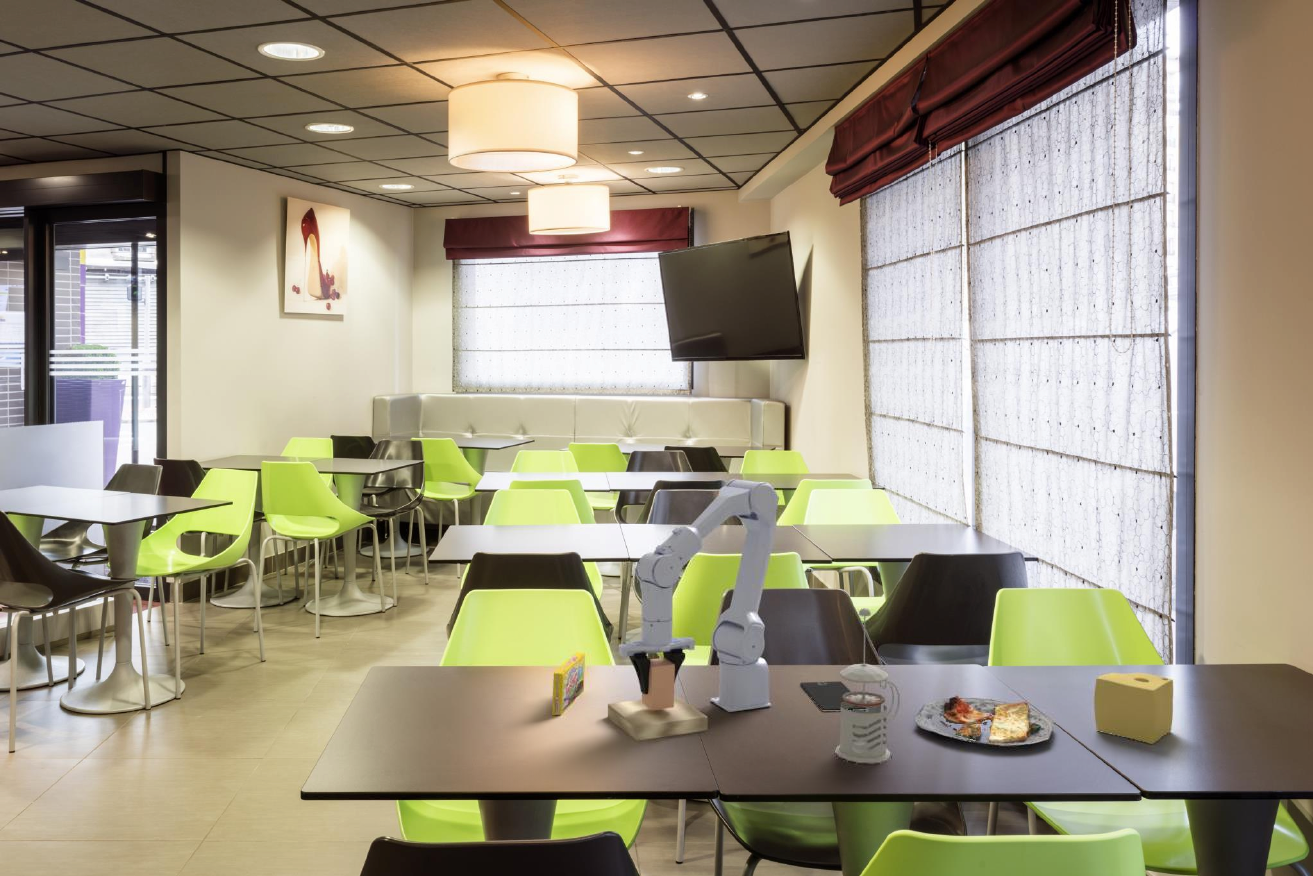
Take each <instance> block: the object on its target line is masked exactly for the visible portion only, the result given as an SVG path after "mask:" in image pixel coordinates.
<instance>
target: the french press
mask: <svg viewBox="0 0 1313 876" xmlns="http://www.w3.org/2000/svg"><path fill="white" fill-rule="evenodd" d="M858 611H859V612H858V614H859V616H861V617H864V618H863V619H864V620H863V663H858V664H857V663H855V664H851V665H848V667H846V668H843V669H842V670H840V673H839V675H840V677H841V678H842V679H843V680H845V681H848V682H851V683H856V684H857V683H858V684H863V687H862V688H863V690H862V691H860V690H859V691H856V690H854V691H851V692H848V693H845V694H844V695H843V696H842V698H843V700H844V702H842V703H841V712H840V716H839V717H840V719H839V721H840V725H839V727H840V729H839V731H840V732H839V745H837V747H835V748H836V750H835V753H837V754H839V756H842V757H843V758H846V759H848V760H854V761H857V762H880V761H882V760H887V758H889V756H890V753H891V751H890V750H889V749H888V748H887V725H888V724H889V723H890V722H891V721H893V720H894V718H896V716H897V713H898V712H899V708H900V703H901V702H900V699H901V697H900V692H899V690H898V687H897V686H896V685H895V683H894V682H891V681H890V680H888V678H889V674H888V673H887V672H886V671H884V670H883V669H880V667H878V666H875V665H872V664H868V663H866V617H870V616H871V609H869V608H865V607H863V608H861V609H860V610H858ZM884 682H885V683H884ZM882 683H884V686H882ZM867 684H879V687H880V688H881V689H883V690H885V689H886V688H887V684H888V685H889V687H890V689H891V695H892V699H891V704H890V705H891V706H890V709H889V711H888V712H887V709H888V707H887V706H886V705H884V703H885V702H886V698H885V697H884V696H883V695H881V694H879V693H876V692H872V691H865V685H867ZM892 686H893V687H894V689H895V691H896V695H897V706H896V711H895V713H894V715H893V716H892V717H891V718H890V719H888V720H887V718H888V716H889V715H890V713H891V712H892V709H893V706H894V702H895V700H894V699H895V693H894V690H893V687H892ZM882 704H883V711H882ZM855 705H858V706H863V707H865V708H867V710H868V711H867V710H866V711H864V710H859V709H854V710H851V711H848V710H847V709H848V708H849V707H852V706H855ZM856 728H858V729H860V730H858V729H856ZM881 728H882V729H881ZM881 735H882V736H881ZM881 742H882V744H881Z"/></svg>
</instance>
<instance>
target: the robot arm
mask: <svg viewBox="0 0 1313 876" xmlns="http://www.w3.org/2000/svg"><path fill="white" fill-rule="evenodd" d="M779 499H780V497H779V494H778V493H777V491H776V490H775V488H774V487H773V485H772V484H771V483H769V482H765V481H761V482H759V481H751V480H742V479H739V478H733V479H730V480H729V481H728V482H727V483H726V484H725V485H723V486H722V487H721V488H719V491H718V495H717V496H716V498H715V499H714V500H712V502H710V504H709V505H708V506H707V507H706V508H705V509H704V511H702V513H701V514H700V515H699V516H698V517H697V518H696V519H695V520H694V521H693V522H692V524H690V526H687V525H681V526H679V527H675V528H674V529H672V534H671V535H670V536H669V537H668V538H667V539H665V540H664V542H662V543H661V544H658V545H657V546H656V547H655V550H654V551H653V552H652V551H651V552H646V553H645V554H644V555H642V556H641V557H640V559H639V560H638V562H637V565H636V567H635V568H634V573H635V574H634V575H635V577H636V578H637V579H638V581H639V586H640V590H641V640H637V641H633V642H627V643H622V644H621V643H620V644H618V656H619V657H621V658H628V657H629V660H630V662H631V664H632V666H633V668H634V670H635V673H636V675H637V679H638V683H639V689H640V692H641V694H642V693H643V694H648V689H649V670H650V664H651V660H650V659H649V657H648V655H649V654H657V653H659V654H660V653H663V658H666V659H667V660H669V661H670V662H671V663H673V664H674V665H675V677H674V685H675V683H676V680H677V676H678V674H679V671H680V669H681V667H682V664H683V663H684V662H685V660H686V653H685V652H683V651H687V650H688V651H695V645H696V644H695V641H696V640H695V639H694V638H692V637H691V636H690V637H689V636H688V637H673V609H674V608H673V601H674V600H673V599H674V598H673V589H674V588H673V587H674V586H673V585H674V584H676V583H677V581H678V580H679V578H680V574H681V571H682V570H683V567H684V566H685V565H686V564H687V563H689V561H691V560H692V559H693V558H694V557H695V555H697V554H698V553H699V552H700V551H701V550H702V548H703V540H704V539H705V538H706V537H707V536H709V535H710V534H711V533H712V532H713V531H715V530H716V529H717V528H719V526H721V524H723V523H725V521H727V519H729V518H730V517H732V516H735V517H737V518H738V519H739V520H740V521H741V522H742V524H743V525H744V527H745V528H746V535H745V538H744V539H745V540H744V543H743V548H742V553H741V557H740V560H739V567H738V570H737V574H736V578H735V584H734V588H733V593H732V598H731V602H730V607H729V608H727V609H725V611H723V612H722V613H721V614H720V615H719V618H718V622H717V624H716V626H715V627H714V629H713V631H712V633H711V638H710V639H711V641H710V642H711V645H712V648H713V650H715V651H716V653H717V654H716V655H717V658H718V661H719V662H718V663H719V664H718V665H719V666H718V669H719V670H718V673H719V676H718V678H719V679H718V697H711V698H710V701H711V702H712V703H714V704H715V705H717V706H718V707H720V708H722V709H724V710H725V711H727V713H732V712H738V711H745V710H755V709H759V708H760V709H762V708H768V707H772V704H771V703H770V670H769V666H768V663H767V661H766V660H765V659H764V658H763V657H762V655H763V654H764V650H765V645H766V643H765V634H764V633H765V629H766V626H765V624H764V622H763V620H762V619H761V617H760V616H759V614H758V612H759V609H760V604H761V599H762V595H763V590H764V585H765V582H766V576H767V572H768V567H769V563H770V558H771V555H772V554H771V553H772V550H773V549H772V548H773V544H774V539H775V535H776V530H777V524H778V523H777V510H778V505H779Z"/></svg>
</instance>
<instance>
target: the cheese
mask: <svg viewBox="0 0 1313 876" xmlns="http://www.w3.org/2000/svg"><path fill="white" fill-rule="evenodd" d="M1095 680H1096V681H1095V685H1094V686H1095V687H1094V696H1093V697H1094V700H1093V705H1094V706H1093V707H1094V719H1095V727H1096V731H1097V730H1098V731H1103V732H1106V733H1112V734H1114V735H1113V736H1115V735H1119V736H1124V737H1127V738H1131V739H1130V740H1132V739H1135V740H1134V741H1137V740H1138V742H1141V741H1142V743H1145V742H1146V744H1149V745H1153V744H1154V743H1155V744H1156V742H1158V741H1159V740H1161V739H1162V738H1163V737H1164V735H1165V736H1166V735H1168V734H1170V733H1171V732H1172V725H1173V716H1174V715H1173V714H1174V712H1173V711H1174V710H1173V709H1174V679H1172V678H1166V677H1164V676H1159V675H1156V674H1155V675H1154V674H1150V673H1144V672H1131V673H1119V672H1110V673H1106V674H1105V673H1104V674H1102V675H1099V676H1098V677H1097V678H1096V679H1095ZM1098 731H1097V732H1098ZM1170 731H1171V732H1170ZM1167 733H1168V734H1167ZM1119 736H1118V737H1119ZM1162 736H1163V737H1162ZM1161 737H1162V738H1161ZM1127 738H1126V739H1127Z"/></svg>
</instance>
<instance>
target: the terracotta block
mask: <svg viewBox="0 0 1313 876" xmlns="http://www.w3.org/2000/svg"><path fill="white" fill-rule="evenodd" d="M650 660H651V664H650V670H649V689H648V694H643V693H642V692H641V700H642V703H643V704H644V705H645V706H647V707H648V708H649V709H650V710H658V709H666V708H673V707H674V695H675V684H674V677H675V665H674V664H673V663H671V662H670V661H669V660H667V659H666V658H664V657H661V658H660V657H659V658H651V659H650Z"/></svg>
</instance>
